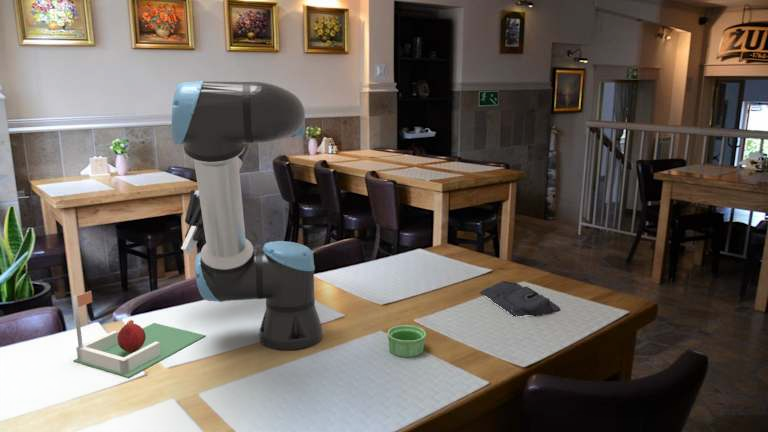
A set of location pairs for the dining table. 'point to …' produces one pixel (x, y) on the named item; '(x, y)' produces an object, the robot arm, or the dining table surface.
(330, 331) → the dining table surface
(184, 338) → the felt mat
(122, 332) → the onion
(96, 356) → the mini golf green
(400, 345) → the ramekin
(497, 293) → the dark grey lumpy slab
